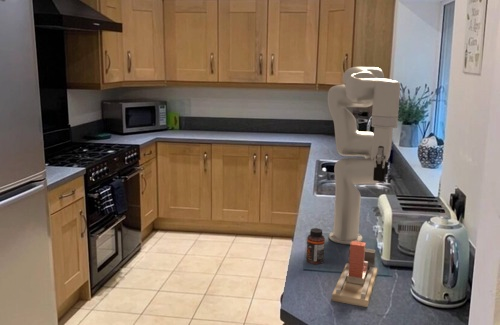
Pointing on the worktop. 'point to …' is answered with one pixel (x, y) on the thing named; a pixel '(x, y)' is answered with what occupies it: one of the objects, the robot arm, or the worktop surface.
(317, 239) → the supplement bottle
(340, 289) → the base
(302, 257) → the worktop surface
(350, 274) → the handle
